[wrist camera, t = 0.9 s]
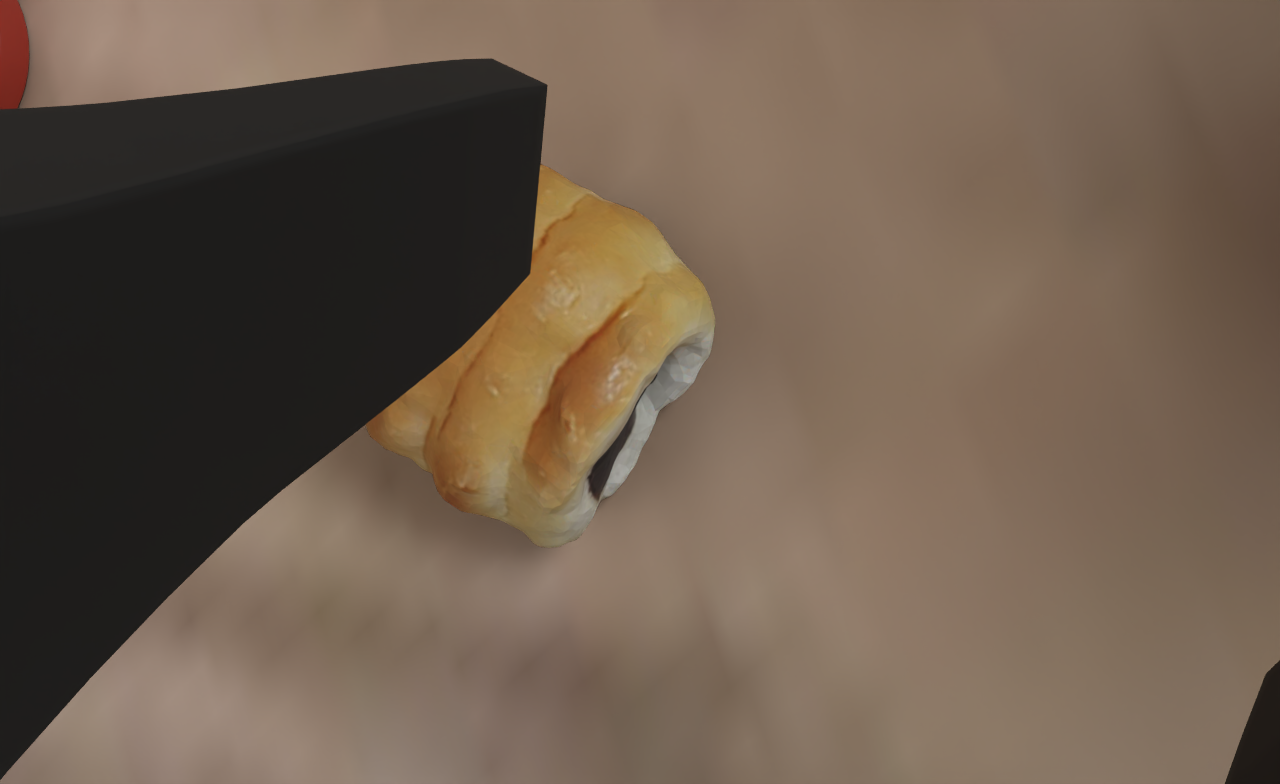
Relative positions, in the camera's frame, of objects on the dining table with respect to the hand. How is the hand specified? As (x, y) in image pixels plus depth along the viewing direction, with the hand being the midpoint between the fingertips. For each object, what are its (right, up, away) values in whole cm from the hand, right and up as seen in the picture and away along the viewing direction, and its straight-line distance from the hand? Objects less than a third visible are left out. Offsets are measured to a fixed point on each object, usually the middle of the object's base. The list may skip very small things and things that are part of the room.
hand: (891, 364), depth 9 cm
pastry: (-5, +1, +15) cm, 16 cm away
